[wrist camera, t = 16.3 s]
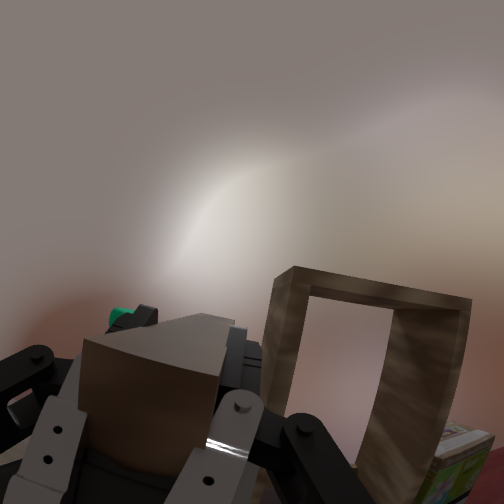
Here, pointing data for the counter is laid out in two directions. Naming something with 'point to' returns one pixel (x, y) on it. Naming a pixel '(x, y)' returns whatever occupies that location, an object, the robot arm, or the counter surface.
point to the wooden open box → (392, 377)
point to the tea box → (455, 465)
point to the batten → (153, 391)
